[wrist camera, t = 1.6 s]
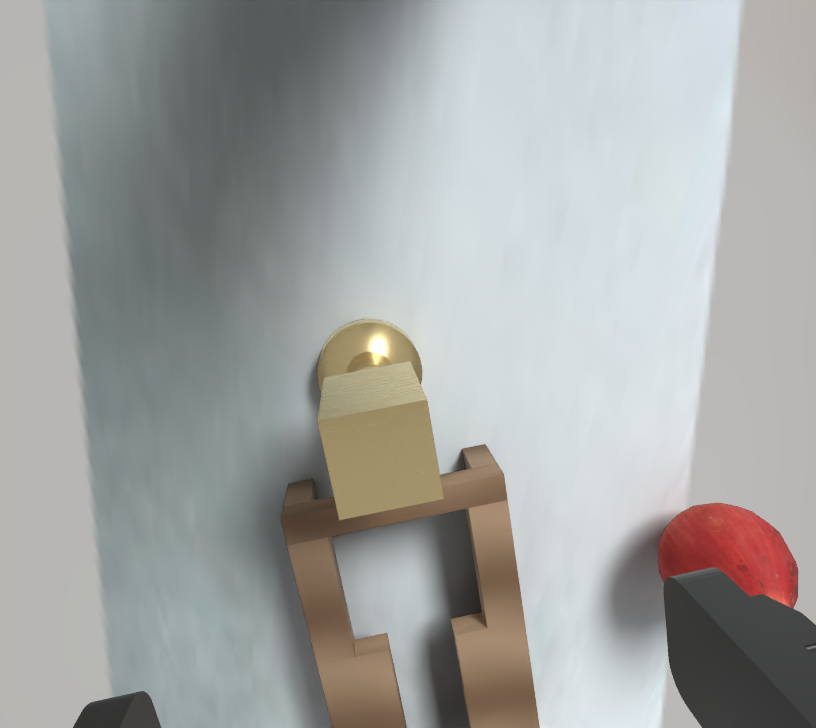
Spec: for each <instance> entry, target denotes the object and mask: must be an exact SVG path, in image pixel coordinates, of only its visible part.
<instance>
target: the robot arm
mask: <svg viewBox="0 0 816 728" xmlns="http://www.w3.org/2000/svg"><path fill="white" fill-rule="evenodd" d="M664 602H665V616H666V629H667V642H668V656H669V663H670V668H671V672H672V675H673V678H674V681H675V684H676V686H677V688H678V691H679V693H680V695H681V697H682V698H683V700H684V702H685V704H686V705H687V707H688V708H689V710H690V711H691V712H692V713H693V715H694V717H695V718H696V719H697V721H698V722H699V724H700V725H701V726H702V728H816V625H815V624H814V623H812V622H811V621H810V620H809V619H808V618H807V617H806V616H804V615H803V614H802V613H800V612H798V611H796V610H794V609H792V608H790V607H788V606H786V605H784V604H782V603H780V602H778V601H776V600H774V599H772V598H770V597H768V596H766V595H764V594H760V595H755V596H751V597H750V596H749V595H748V594H747V593H746V592H744V591H743V590H742V589H741V588H740V587H739V586H738V585H737V584H736V583H735V582H734V581H732V580H731V579H730V578H729V577H728V576H727V575H726V574H725V573H724V572H722V571H721V570H720V569H718V568H708V569H703V570H699V571H694V572H690V573H685V574H681V575H676V576H672V577H668V578H666V580H665V582H664ZM73 728H161V726H160V723H159V720H158V717H157V714H156V711H155V708H154V705H153V703H152V700H151V698H150V696H149V695H148V694H147V693H146V692H144V691H141V692H136V693H131V694H127V695H122V696H118V697H113V698H109V699H104V700H100V701H95V702H91V703H89V704H88V705H87V706H86V707H85V708H84V709H83V711H82V712H81V714H80V716H79V718H78V719H77V721H76V723H75V725H74V727H73Z"/></svg>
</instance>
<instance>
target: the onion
mask: <svg viewBox="0 0 816 728" xmlns="http://www.w3.org/2000/svg"><path fill="white" fill-rule="evenodd" d="M658 563H659V573H660V575H661V577H662V580H663V582H665V580H666V578H668V577H672V576H676V575H681V574H685V573H690V572H694V571H699V570H703V569H708V568H718V569H720V570H721V571H722V572H724V573H725V574H726V575H727V576H728V577H729V578H730V579H731V580H732V581H734V582H735V583H736V584H737V585H738V586H739V587H740V588H741V589H742V590H743V591H744V592H746V593H747V594H748V595H749V596H750V597H751V596H755V595H760V594H764V595H766V596H768V597H770V598H772V599H774V600H776V601H778V602H780V603H782V604H784V605H786V606H788V607H790V608H792V609H793V608H794V606H795V603H796V601H797V598H798V568H797V564H796V561H795V560H794V558H793V556H792V554H791V552H790V550H789V549H788V547H787V545H786V543H785V541H784V539H783V538H782V536H781V534H780V532H778V531H777V530H776V529H775V528H774V527H773V526H771V525H770V524H769V523H768V522H766V521H765V520H763V519H762V518H760V517H759V516H758V515H756V514H755V513H753V512H752V511H749V510H746V509H743V508H740V507H737V506H733V505H728V504H723V503H711V504H704V505H698V506H692V507H690V508H689V509H687V510H685V511H683V512H681V513H680V514H678V515H677V516H676V517H675V518H674V519H673V520H672V521H671V522H670V523H669V525H668V526H667V527H666V528H665V530H664V532H663V534H662V537H661V539H660V541H659V544H658Z"/></svg>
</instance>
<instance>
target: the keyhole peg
mask: <svg viewBox="0 0 816 728" xmlns="http://www.w3.org/2000/svg"><path fill="white" fill-rule="evenodd" d="M317 378H318V385H319V388H320V392H321V400H320V407H319V413H318V420H317V422H318V426H319V431H320V435H321V440H322V444H323V449H324V453H325V458H326V462H327V467H328V471H329V476H330V480H331V485H332V489H333V494H334V498H335V503H336V507H337V512H338V516H339V520H343V519H348V518H353V517H358V516H363V515H368V514H373V513H377V512H382V511H387V510H392V509H397V508H402V507H407V506H412V505H417V504H422V503H427V502H431V501H436V500H441V499H444V497H443V491H442V485H441V479H440V473H439V467H438V461H437V456H436V450H435V444H434V438H433V432H432V426H431V420H430V414H429V409H428V403H427V399H426V396H425V394H424V392H423V389H422V387H421V381H422V365H421V361H420V358H419V355H418V352H417V351H416V349H415V347H414V345H413V343H412V341H411V340H410V339H409V337H408V336H407V335H406V334H405V333H404V332H403V331H402V330H400V329H399V328H398V327H396V326H394V325H393V324H390V323H388V322H385V321H382V320H377V319H362V320H357V321H353V322H351V323H348V324H346V325H344V326H342V327H341V328H339V329H338V330H337V331H336V332H334V333H333V334H332V335H331V337H330V338H329V339H328V340H327V342H326V344H325V345H324V347H323V350H322V352H321V355H320V359H319V364H318V371H317Z"/></svg>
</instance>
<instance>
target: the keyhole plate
mask: <svg viewBox="0 0 816 728" xmlns="http://www.w3.org/2000/svg"><path fill="white" fill-rule="evenodd" d="M462 452H463V458H464V464H465V470H461V471H456V472H452V473H447V474H442V475H440V479H441V485H442V491H443V497H444V499H441V500H436V501H431V502H427V503H422V504H417V505H412V506H407V507H402V508H397V509H392V510H387V511H382V512H377V513H373V514H368V515H363V516H358V517H353V518H348V519H343V520H339V516H338V512H337V507H336V503H335V498H334V497H329V498H324V499H319V500H317V496H316V492H315V488H314V483H313V479H311V480H306V481H301V482H296V483H291V484H288V488H287V493H286V497H285V502H284V507H283V511H282V516H281V523H282V527H283V531H284V535H285V539H286V543H287V547H288V551H289V555H290V559H291V563H292V567H293V571H294V575H295V579H296V583H297V587H298V591H299V595H300V599H301V603H302V607H303V611H304V615H305V619H306V623H307V627H308V631H309V635H310V639H311V643H312V647H313V651H314V655H315V659H316V663H317V667H318V671H319V675H320V679H321V683H322V687H323V691H324V695H325V699H326V703H327V707H328V711H329V715H330V719H331V723H332V727H333V728H407V726H406V721H405V716H404V711H403V707H402V702H401V697H400V693H399V688H398V683H397V678H396V674H395V669H394V664H393V659H392V655H391V650H390V645H389V640H388V636H387V633H384V634H380V635H375V636H370V637H366V638H361V639H357V640H355V639H354V634H353V630H352V626H351V621H350V617H349V612H348V608H347V604H346V599H345V595H344V590H343V586H342V582H341V577H340V573H339V569H338V564H337V560H336V555H335V551H334V547H333V542H332V538H331V537H332V536H337V535H342V534H347V533H352V532H356V531H361V530H366V529H371V528H376V527H380V526H385V525H390V524H395V523H400V522H405V521H409V520H414V519H419V518H424V517H429V516H433V515H438V514H443V513H448V512H453V511H458V510H462V509H466V515H467V522H468V528H469V534H470V540H471V546H472V553H473V559H474V565H475V571H476V577H477V584H478V590H479V596H480V602H481V608H482V612H480V613H476V614H471V615H467V616H462V617H457V618H453V619H451V624H452V630H453V635H454V641H455V647H456V652H457V658H458V664H459V669H460V675H461V680H462V686H463V692H464V697H465V703H466V709H467V714H468V720H469V725H470V728H540V727H539V720H538V713H537V706H536V699H535V692H534V685H533V678H532V671H531V663H530V656H529V649H528V642H527V635H526V628H525V621H524V614H523V607H522V600H521V593H520V585H519V578H518V571H517V564H516V557H515V550H514V543H513V536H512V529H511V522H510V514H509V507H508V500H507V493H506V486H505V479H504V473H503V472H502V470H501V469H500V467H499V465H498V464H497V462H496V461H495V459H494V457H493V456H492V454H491V453H490V451H489V449H488V448H487V446H486V445H485V444H484V445H479V446H474V447H469V448H464V449H462Z"/></svg>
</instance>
